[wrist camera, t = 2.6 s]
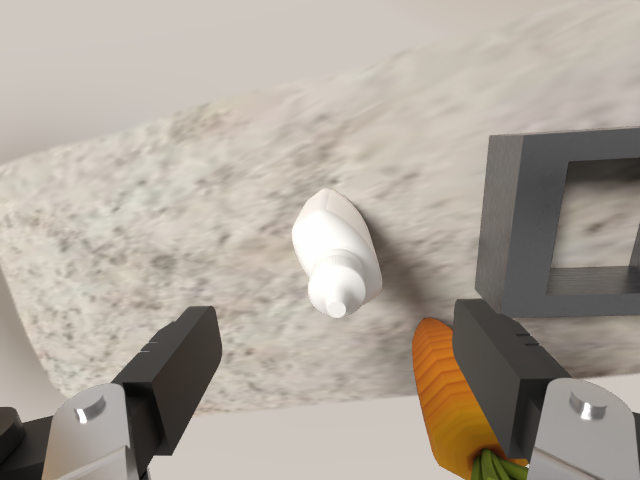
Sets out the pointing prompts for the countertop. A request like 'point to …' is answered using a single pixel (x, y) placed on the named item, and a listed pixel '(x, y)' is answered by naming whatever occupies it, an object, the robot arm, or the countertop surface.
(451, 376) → the carrot
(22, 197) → the countertop surface
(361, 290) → the eye dropper bottle
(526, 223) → the grey square frame
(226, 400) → the countertop surface
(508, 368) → the robot arm
